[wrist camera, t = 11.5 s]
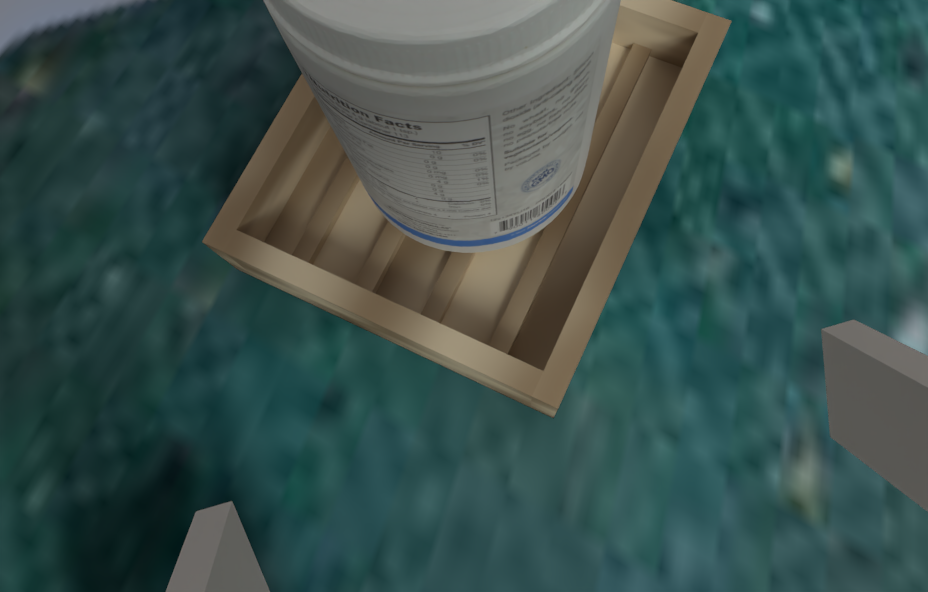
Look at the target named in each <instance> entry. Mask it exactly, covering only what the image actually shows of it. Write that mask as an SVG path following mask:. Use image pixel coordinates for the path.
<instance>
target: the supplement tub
mask: <svg viewBox="0 0 928 592" xmlns="http://www.w3.org/2000/svg"><path fill="white" fill-rule="evenodd" d="M263 1H264V3H265V4H266V7H267V9H268V11H269V13H270V15H271V17H272V18H273V20H274V22H275V24H276V26H277V28H278V30H279V32H280V34H281V36H282V37H283V39H284V41H285V43H286V45H287V47H288V48H289V50H290V52H291V54H292V56H293V57H294V59H295V61H296V63H297V65H298V67H299V68H300V70H301V72H302V74H303V76H304V78H305V79H306V81H307V83H308V85H309V87H310V89H311V90H312V92H313V94H314V96H315V98H316V100H317V101H318V103H319V105H320V107H321V109H322V111H323V113H324V114H325V116H326V118H327V120H328V122H329V124H330V125H331V127H332V129H333V131H334V133H335V135H336V136H337V138H338V140H339V142H340V144H341V145H342V147H343V149H344V151H345V153H346V154H347V156H348V158H349V160H350V162H351V164H352V165H353V167H354V169H355V171H356V173H357V175H358V177H359V178H360V180H361V182H362V184H363V186H364V188H365V189H366V191H367V192H368V194H369V196H370V197H371V199H372V201H373V203H374V204H375V206H376V207H377V209H378V210H379V211H380V212H381V213H382V215H383V216H384V217H385V218H386V219H387V220H388V221H389V222H390V223H391V224H392V225H393V226H395V227H396V228H397V229H399V230H400V231H401V232H403V233H404V234H405V235H407V236H409V237H410V238H412V239H414V240H416V241H418V242H420V243H422V244H424V245H427V246H430V247H434V248H437V249H441V250H445V251H452V252H460V253H476V252H486V251H492V250H498V249H502V248H505V247H508V246H511V245H514V244H517V243H519V242H521V241H523V240H525V239H527V238H529V237H531V236H532V235H534V234H536V233H537V232H539V231H540V230H542V229H543V228H544V227H545V226H547V225H548V224H549V223H550V222H552V221H553V220H554V219H555V218H556V217H557V216H558V215H559V214H560V212H561V211H562V210H563V209H564V207H565V206H566V205H567V204H568V202H569V201H570V199H571V198H572V197H573V195H574V193H575V191H576V190H577V188H578V186H579V183H580V181H581V178H582V175H583V172H584V168H585V164H586V160H587V157H588V153H589V148H590V143H591V138H592V133H593V128H594V123H595V118H596V114H597V109H598V104H599V100H600V95H601V91H602V86H603V82H604V77H605V72H606V67H607V63H608V58H609V53H610V48H611V44H612V39H613V34H614V30H615V25H616V20H617V16H618V11H619V7H620V2H621V0H263Z"/></svg>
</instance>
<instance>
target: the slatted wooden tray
mask: <svg viewBox="0 0 928 592" xmlns="http://www.w3.org/2000/svg"><path fill="white" fill-rule="evenodd" d="M730 24H731V21H730V20H727V19H724V18H721V17H719V16H716V15H713V14H710V13H707V12H704V11H701V10H698V9H695V8H692V7H689V6H686V5H684V4H681V3H678V2H675V1H672V0H621V2H620V7H619V11H618V16H617V20H616V25H615V30H614V34H613V39H612V44H611V48H610V53H609V58H608V63H607V67H606V72H605V77H604V82H603V86H602V91H601V95H600V100H599V104H598V109H597V114H596V118H595V123H594V128H593V133H592V138H591V143H590V148H589V153H588V157H587V160H586V164H585V168H584V172H583V175H582V178H581V181H580V183H579V186H578V188H577V190H576V191H575V193H574V195H573V197H572V198H571V199H570V201H569V202H568V204H567V205H566V206H565V207H564V209H563V210H562V211H561V212H560V214H559V215H558V216H557V217H556V218H555V219H554V220H553V221H552V222H550V223H549V224H548V225H547V226H545V227H544V228H543V229H542V230H540V231H539V232H537V233H536V234H534V235H532V236H531V237H529V238H527V239H525V240H523V241H521V242H519V243H517V244H514V245H511V246H508V247H505V248H502V249H498V250H492V251H486V252H476V253H460V252H452V251H445V250H441V249H437V248H434V247H430V246H427V245H424V244H422V243H420V242H418V241H416V240H414V239H412V238H410V237H409V236H407V235H405V234H404V233H403V232H401V231H400V230H399V229H397V228H396V227H395V226H393V225H392V224H391V223H390V222H389V221H388V220H387V219H386V218H385V217H384V216H383V215H382V213H381V212H380V211H379V210H378V209H377V207H376V206H375V204H374V203H373V201H372V199H371V197H370V196H369V194H368V192H367V191H366V189H365V188H364V186H363V184H362V182H361V180H360V178H359V177H358V175H357V173H356V171H355V169H354V167H353V165H352V164H351V162H350V160H349V158H348V156H347V154H346V153H345V151H344V149H343V147H342V145H341V144H340V142H339V140H338V138H337V136H336V135H335V133H334V131H333V129H332V127H331V125H330V124H329V122H328V120H327V118H326V116H325V114H324V113H323V111H322V109H321V107H320V105H319V103H318V101H317V100H316V98H315V96H314V94H313V92H312V90H311V89H310V87H309V85H308V83H307V81H306V79H305V78H304V76H303V74H301V76H300V77H299V79H298V81H297V82H296V84H295V86H294V87H293V89H292V91H291V93H290V94H289V96H288V98H287V99H286V101H285V103H284V104H283V106H282V108H281V109H280V111H279V113H278V114H277V116H276V118H275V119H274V121H273V123H272V125H271V126H270V128H269V130H268V131H267V133H266V135H265V136H264V138H263V140H262V141H261V143H260V145H259V146H258V148H257V150H256V152H255V153H254V155H253V157H252V158H251V160H250V162H249V163H248V165H247V167H246V168H245V170H244V172H243V173H242V175H241V177H240V178H239V180H238V182H237V184H236V185H235V187H234V189H233V190H232V192H231V194H230V195H229V197H228V199H227V200H226V202H225V204H224V205H223V207H222V209H221V210H220V212H219V214H218V216H217V217H216V219H215V221H214V222H213V224H212V226H211V227H210V229H209V231H208V232H207V234H206V236H205V237H204V239H203V241H202V242H203V243H204V244H205V245H207V246H208V247H209V248H210V249H212V250H213V251H214V252H216V253H217V254H218V255H219V256H221V257H222V258H223V259H225V260H226V261H227V262H228V263H230V264H231V265H232V266H234V267H235V268H236V269H238V270H240V271H242V272H244V273H247V274H249V275H251V276H253V277H255V278H257V279H259V280H261V281H263V282H266V283H268V284H270V285H272V286H274V287H276V288H278V289H280V290H283V291H285V292H287V293H289V294H291V295H293V296H295V297H297V298H300V299H302V300H304V301H306V302H308V303H310V304H312V305H314V306H316V307H319V308H321V309H323V310H325V311H327V312H329V313H331V314H333V315H336V316H338V317H340V318H342V319H344V320H346V321H348V322H350V323H353V324H355V325H357V326H359V327H361V328H363V329H365V330H367V331H369V332H372V333H374V334H376V335H378V336H380V337H382V338H384V339H386V340H389V341H391V342H393V343H395V344H397V345H399V346H401V347H403V348H406V349H408V350H410V351H412V352H414V353H416V354H418V355H420V356H422V357H425V358H427V359H429V360H431V361H433V362H435V363H437V364H439V365H442V366H444V367H446V368H448V369H450V370H452V371H454V372H456V373H459V374H461V375H463V376H465V377H467V378H469V379H471V380H473V381H476V382H478V383H480V384H482V385H484V386H486V387H488V388H490V389H492V390H495V391H497V392H499V393H501V394H503V395H505V396H507V397H509V398H512V399H514V400H516V401H518V402H520V403H522V404H524V405H526V406H529V407H531V408H533V409H535V410H537V411H539V412H541V413H543V414H545V415H548V416H550V417H552V418H554V416H555V414H556V412H557V410H558V408H559V405H560V403H561V401H562V399H563V396H564V394H565V392H566V390H567V388H568V385H569V383H570V381H571V379H572V376H573V374H574V372H575V370H576V367H577V365H578V363H579V361H580V359H581V356H582V354H583V352H584V350H585V347H586V345H587V343H588V341H589V338H590V336H591V334H592V332H593V329H594V327H595V325H596V323H597V321H598V318H599V316H600V314H601V312H602V309H603V307H604V305H605V303H606V300H607V298H608V296H609V294H610V292H611V289H612V287H613V285H614V283H615V280H616V278H617V276H618V274H619V271H620V269H621V267H622V265H623V262H624V260H625V258H626V256H627V254H628V251H629V249H630V247H631V245H632V242H633V240H634V238H635V236H636V233H637V231H638V229H639V227H640V225H641V222H642V220H643V218H644V216H645V213H646V211H647V209H648V207H649V204H650V202H651V200H652V198H653V196H654V193H655V191H656V189H657V187H658V184H659V182H660V180H661V178H662V175H663V173H664V171H665V169H666V166H667V164H668V162H669V160H670V158H671V155H672V153H673V151H674V149H675V146H676V144H677V142H678V140H679V137H680V135H681V133H682V131H683V129H684V126H685V124H686V122H687V120H688V117H689V115H690V113H691V111H692V108H693V106H694V104H695V102H696V99H697V97H698V95H699V93H700V91H701V88H702V86H703V84H704V82H705V79H706V77H707V75H708V73H709V70H710V68H711V66H712V64H713V62H714V59H715V57H716V55H717V53H718V50H719V48H720V46H721V44H722V41H723V39H724V37H725V35H726V33H727V30H728V28H729V26H730Z"/></svg>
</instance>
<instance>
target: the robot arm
mask: <svg viewBox="0 0 928 592" xmlns="http://www.w3.org/2000/svg"><path fill="white" fill-rule="evenodd" d="M821 331H822V343H823V355H824V368H825V380H826V392H827V404H828V416H829V428H830V437H831V438H832V439H834V440H835V441H836V442H838V443H839V444H840V445H842V446H843V447H844V448H845V449H847V450H848V451H849V452H851V453H852V454H853V455H855V456H856V457H857V458H858V459H860V460H861V461H862V462H864V463H865V464H866V465H868V466H869V467H870V468H871V469H873V470H874V471H875V472H877V473H878V474H879V475H881V476H882V477H883V478H884V479H886V480H887V481H888V482H890V483H891V484H892V485H894V486H895V487H896V488H898V489H899V490H900V491H901V492H903V493H904V494H905V495H907V496H908V497H909V498H911V499H912V500H913V501H914V502H916V503H917V504H918V505H920V506H921V507H922V508H924V509H925V510H926V511H927V512H928V356H927V355H925V354H923V353H920V352H918V351H916V350H914V349H912V348H910V347H908V346H906V345H904V344H902V343H900V342H898V341H896V340H894V339H892V338H890V337H888V336H886V335H884V334H882V333H880V332H878V331H876V330H874V329H872V328H870V327H868V326H866V325H864V324H862V323H860V322H858V321H856V320H851V321H848V322H844V323H841V324H837V325H834V326H830V327H827V328H824V329H821ZM166 592H270V591H269V588H268V586H267V583H266V581H265V579H264V576H263V574H262V571H261V569H260V567H259V564H258V562H257V559H256V557H255V555H254V552H253V550H252V547H251V545H250V543H249V540H248V538H247V535H246V533H245V531H244V528H243V526H242V523H241V521H240V519H239V516H238V514H237V511H236V509H235V507H234V504H233V502H232V501H230V502H227V503H223V504H220V505H216V506H213V507H209V508H206V509H203V510H199V511H196V512H195V515H194V518H193V520H192V523H191V526H190V528H189V531H188V534H187V536H186V539H185V541H184V544H183V547H182V549H181V552H180V555H179V557H178V560H177V563H176V565H175V568H174V571H173V573H172V576H171V578H170V581H169V584H168V586H167V589H166Z"/></svg>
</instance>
